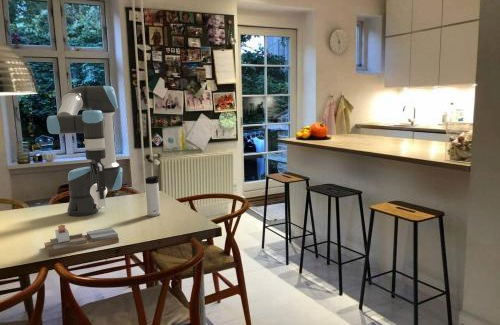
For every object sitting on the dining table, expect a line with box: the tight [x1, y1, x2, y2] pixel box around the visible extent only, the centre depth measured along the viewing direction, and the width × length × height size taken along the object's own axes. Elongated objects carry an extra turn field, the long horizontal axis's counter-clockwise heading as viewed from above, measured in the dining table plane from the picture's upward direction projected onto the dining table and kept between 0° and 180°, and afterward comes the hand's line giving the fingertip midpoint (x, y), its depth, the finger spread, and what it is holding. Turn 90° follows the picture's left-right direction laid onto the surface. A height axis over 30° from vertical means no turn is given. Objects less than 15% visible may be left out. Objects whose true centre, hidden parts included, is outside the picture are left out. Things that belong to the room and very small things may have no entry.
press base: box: [44, 227, 120, 258], centre depth 166 cm, size 12×26×4 cm, turn 124°
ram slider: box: [54, 224, 70, 244], centre depth 161 cm, size 6×4×7 cm, turn 34°
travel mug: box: [145, 175, 161, 218], centre depth 205 cm, size 6×7×20 cm
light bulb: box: [90, 183, 108, 210], centre depth 168 cm, size 7×7×11 cm
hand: (99, 204), depth 168 cm, fingers closed on light bulb, 6 cm apart
